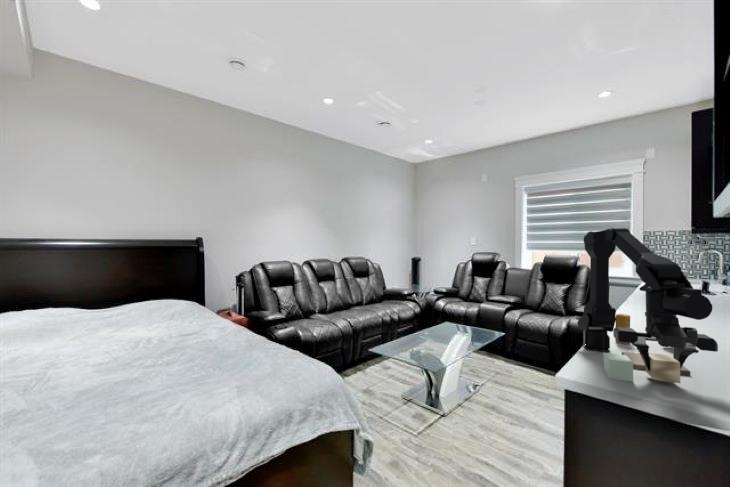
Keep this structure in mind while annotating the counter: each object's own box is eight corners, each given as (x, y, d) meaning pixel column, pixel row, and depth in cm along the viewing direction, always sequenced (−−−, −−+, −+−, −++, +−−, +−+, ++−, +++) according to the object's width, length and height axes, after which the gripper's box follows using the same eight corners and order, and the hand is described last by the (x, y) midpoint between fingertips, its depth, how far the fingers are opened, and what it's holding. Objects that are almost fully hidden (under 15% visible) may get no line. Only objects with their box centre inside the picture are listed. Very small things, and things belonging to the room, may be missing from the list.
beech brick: (653, 379, 79) (653, 359, 79) (645, 371, 84) (645, 352, 84) (680, 383, 77) (680, 362, 77) (670, 374, 82) (670, 355, 82)
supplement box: (626, 344, 111) (625, 316, 111) (615, 341, 114) (614, 314, 114) (631, 343, 112) (630, 315, 113) (619, 340, 116) (619, 313, 116)
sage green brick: (609, 378, 83) (608, 359, 83) (604, 370, 88) (603, 352, 88) (633, 381, 81) (632, 362, 81) (626, 373, 86) (626, 355, 86)
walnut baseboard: (632, 368, 89) (632, 364, 89) (621, 355, 100) (621, 351, 100) (690, 375, 84) (690, 371, 84) (671, 361, 94) (671, 357, 94)
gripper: (623, 313, 78) (624, 377, 77) (730, 321, 69) (732, 392, 69) (612, 306, 88) (613, 362, 87) (705, 311, 79) (706, 374, 79)
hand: (662, 371), depth 80 cm, fingers closed on beech brick, 5 cm apart
